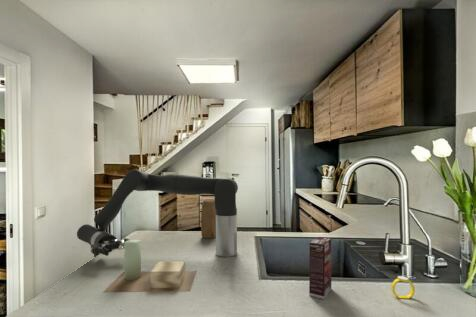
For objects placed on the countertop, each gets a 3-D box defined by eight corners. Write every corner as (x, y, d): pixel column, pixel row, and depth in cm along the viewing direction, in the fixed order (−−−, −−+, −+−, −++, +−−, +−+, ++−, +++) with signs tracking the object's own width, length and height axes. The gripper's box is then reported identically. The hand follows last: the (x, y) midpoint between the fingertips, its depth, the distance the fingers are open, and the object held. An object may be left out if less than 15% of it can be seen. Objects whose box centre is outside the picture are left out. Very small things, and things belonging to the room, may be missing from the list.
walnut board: (196, 274, 101) (196, 271, 101) (189, 295, 85) (189, 291, 85) (123, 275, 101) (123, 271, 101) (103, 296, 85) (103, 291, 85)
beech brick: (184, 276, 97) (184, 261, 97) (179, 287, 88) (179, 271, 88) (158, 276, 97) (158, 261, 97) (150, 287, 88) (150, 271, 88)
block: (213, 239, 148) (213, 201, 149) (200, 238, 150) (199, 200, 150) (218, 234, 159) (218, 198, 159) (205, 233, 160) (205, 198, 161)
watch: (410, 297, 84) (412, 276, 84) (415, 301, 81) (416, 280, 82) (389, 294, 85) (390, 274, 85) (393, 299, 82) (395, 278, 82)
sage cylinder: (143, 273, 99) (142, 239, 99) (138, 280, 93) (137, 243, 94) (128, 274, 99) (127, 239, 99) (122, 280, 93) (122, 243, 94)
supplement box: (325, 300, 82) (324, 244, 82) (308, 296, 84) (308, 242, 85) (332, 288, 89) (332, 238, 89) (317, 285, 92) (316, 236, 92)
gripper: (84, 235, 111) (99, 243, 99) (121, 229, 121) (138, 236, 109) (84, 254, 110) (99, 265, 99) (120, 247, 120) (138, 256, 109)
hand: (119, 250), depth 104 cm, fingers open, 8 cm apart
